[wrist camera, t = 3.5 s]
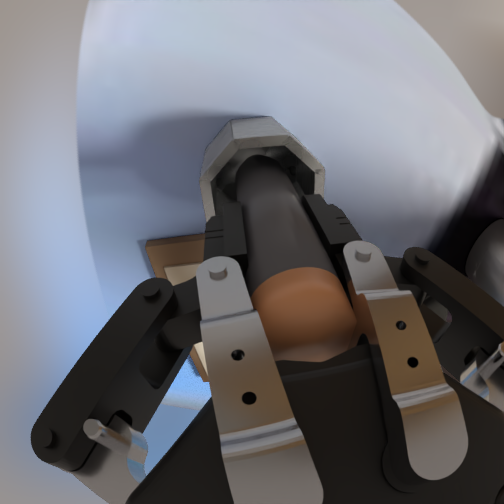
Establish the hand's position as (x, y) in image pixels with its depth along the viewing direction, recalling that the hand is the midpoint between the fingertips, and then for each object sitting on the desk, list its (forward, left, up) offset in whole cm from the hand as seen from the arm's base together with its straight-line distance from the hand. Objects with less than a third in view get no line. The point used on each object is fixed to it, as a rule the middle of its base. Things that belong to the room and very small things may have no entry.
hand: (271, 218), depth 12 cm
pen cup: (0, 0, -7) cm, 7 cm away
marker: (0, 0, -6) cm, 6 cm away
